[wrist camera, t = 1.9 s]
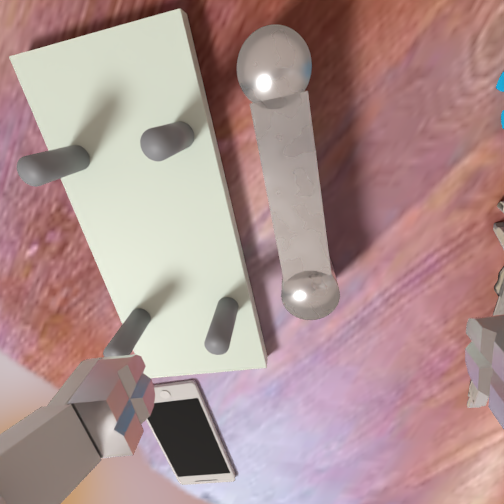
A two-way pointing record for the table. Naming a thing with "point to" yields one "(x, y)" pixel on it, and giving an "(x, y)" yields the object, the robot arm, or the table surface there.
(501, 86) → the gear
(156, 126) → the board
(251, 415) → the table surface
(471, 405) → the caliper
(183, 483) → the smartphone
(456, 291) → the table surface
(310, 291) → the grey dumbbell
